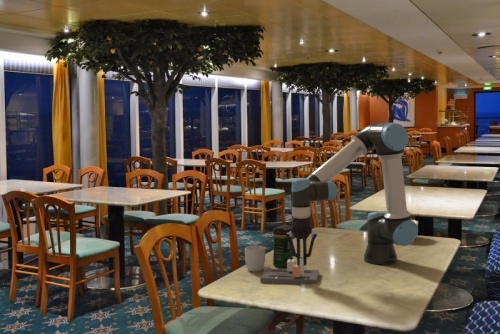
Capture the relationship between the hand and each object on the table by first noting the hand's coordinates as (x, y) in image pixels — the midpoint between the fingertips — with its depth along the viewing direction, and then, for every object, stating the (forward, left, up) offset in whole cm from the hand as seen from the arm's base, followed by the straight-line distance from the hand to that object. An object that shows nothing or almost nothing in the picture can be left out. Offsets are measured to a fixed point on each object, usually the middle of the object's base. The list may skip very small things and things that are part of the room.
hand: (302, 273), depth 227 cm
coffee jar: (+11, -25, -4) cm, 27 cm away
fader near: (+2, 0, -1) cm, 3 cm away
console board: (+5, -4, -4) cm, 8 cm away
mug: (+22, -18, -4) cm, 28 cm away
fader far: (+5, -8, -1) cm, 10 cm away
